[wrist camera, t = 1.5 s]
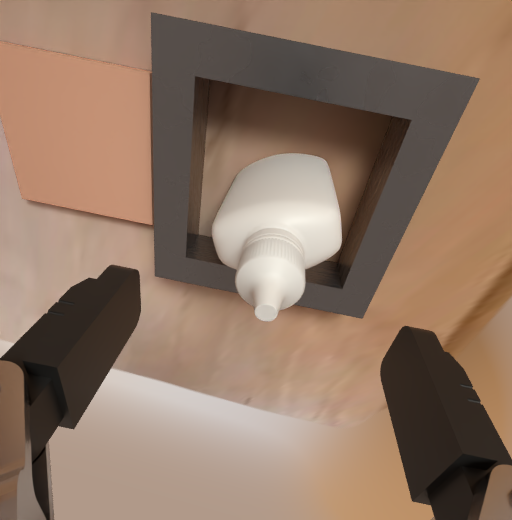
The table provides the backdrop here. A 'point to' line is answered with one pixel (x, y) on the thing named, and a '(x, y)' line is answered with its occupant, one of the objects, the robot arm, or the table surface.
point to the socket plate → (305, 86)
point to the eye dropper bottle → (277, 228)
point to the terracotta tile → (79, 131)
